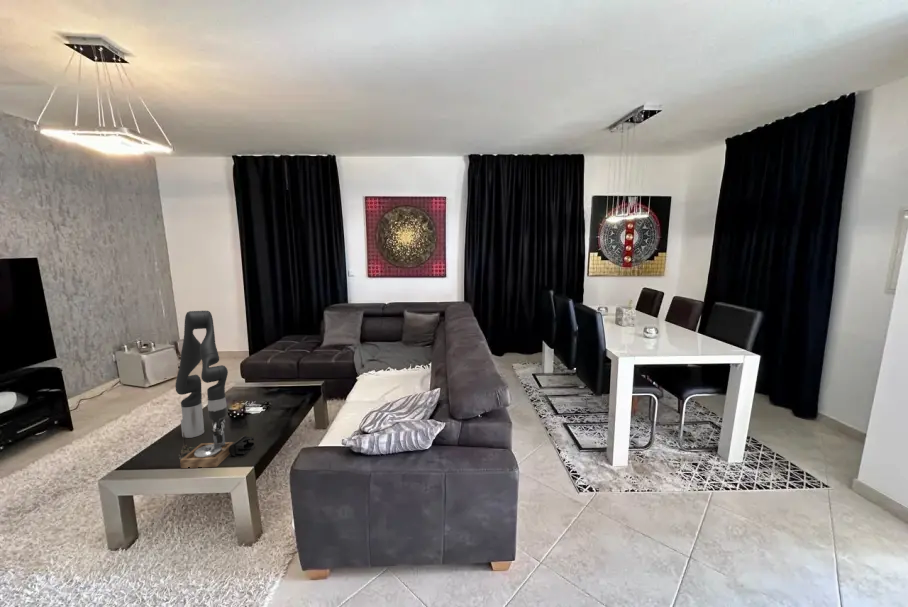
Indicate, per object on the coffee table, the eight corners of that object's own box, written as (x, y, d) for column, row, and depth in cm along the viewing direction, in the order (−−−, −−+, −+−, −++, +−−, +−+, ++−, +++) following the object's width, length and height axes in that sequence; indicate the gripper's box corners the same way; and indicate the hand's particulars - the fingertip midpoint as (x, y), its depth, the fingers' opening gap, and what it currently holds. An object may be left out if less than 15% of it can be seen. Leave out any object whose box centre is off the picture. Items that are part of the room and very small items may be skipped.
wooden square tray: (180, 468, 171) (180, 459, 170) (201, 450, 187) (201, 442, 186) (216, 466, 172) (216, 458, 171) (234, 449, 188) (234, 441, 187)
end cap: (241, 447, 190) (240, 434, 190) (255, 447, 190) (254, 434, 189) (229, 457, 180) (228, 444, 180) (243, 457, 180) (242, 444, 179)
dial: (194, 462, 171) (193, 443, 170) (194, 452, 180) (192, 434, 179) (226, 453, 179) (225, 436, 178) (224, 444, 188) (223, 427, 187)
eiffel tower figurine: (183, 465, 175) (181, 438, 173) (163, 464, 175) (161, 437, 174) (207, 449, 190) (205, 424, 188) (188, 448, 190) (186, 423, 189)
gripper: (213, 403, 182) (216, 437, 184) (203, 413, 170) (206, 449, 171) (230, 402, 184) (233, 435, 186) (221, 411, 172) (224, 447, 173)
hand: (220, 442), depth 178 cm, fingers closed
